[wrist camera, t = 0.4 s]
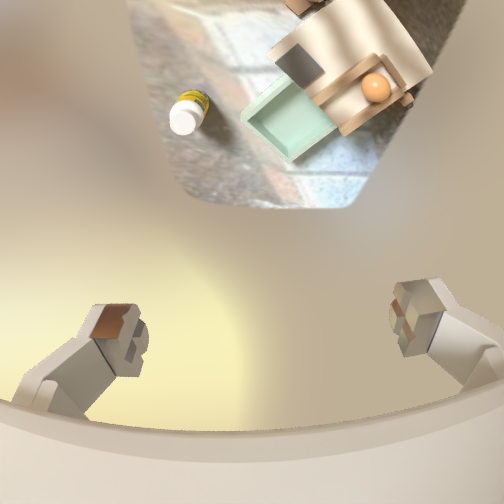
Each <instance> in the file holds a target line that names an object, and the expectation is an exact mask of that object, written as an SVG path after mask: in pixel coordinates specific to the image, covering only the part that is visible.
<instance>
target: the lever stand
mask: <svg viewBox="0 0 504 504" xmlns="http://www.w3.org/2000/svg"><path fill="white" fill-rule="evenodd" d="M322 1H323V0H287V1H285V2H284V3H285V4H286V5H287V6H288V7H289V8H290V9H291V10H292V11H293V12H294V13H295V14H296V15H298V16H299V15H300V14H301V13H303V12H304V11H305V10H306V9H308V8H309V7H310V6H312V5H313V4H314V3H316V2H319V3H320V2H322ZM404 93H405V95H404V96H402V97H401V98H399V99H398V101H399V102H400V103H401V104H402V105H403V106H404V107H405V106H406V107H407V108H408V109H409V108H411V107H413V103H412V101H414V99H413V97H412V95H411V94H410V93H409V92H408V91H405V92H404Z"/></svg>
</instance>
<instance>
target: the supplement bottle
mask: <svg viewBox="0 0 504 504" xmlns="http://www.w3.org/2000/svg"><path fill="white" fill-rule="evenodd" d="M208 108H209V98H208V96H207V95H206V94H205V93H204V92H203V91H201V90H199V89H189V90H187V91H185V92H184V93H183V94H182V95H181V96H180V97H179V99H178V100H177V101H176V103H175V104H174V106H173V107H172V109H171V112H170V127H171V129H172V130H173V131H174V132H175V133H177V134H179V135H188V134H190V133H192V132H193V131H194V130H196V129H197V128H198V127H199V126H200V125H201V124H202V122H203V120H204V117H205V115H206V113H207V110H208Z"/></svg>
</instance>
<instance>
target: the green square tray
mask: <svg viewBox="0 0 504 504" xmlns="http://www.w3.org/2000/svg"><path fill="white" fill-rule="evenodd" d="M240 122H242V123H243V124H244V125H245V126H246V127H247V128H249V129H250V130H251V131H252V132H253V133H254V134H255V135H257V136H258V137H259V138H260V139H261V140H262V141H263V142H265V143H266V144H267V145H268V146H269V147H270V148H271V149H272V150H273V151H275V152H276V153H277V154H278V155H279V156H280V157H281V158H282V159H283V160H284V161H286V162H287V163H288V164H289V163H291V162H292V161H293V160H295V159H296V158H297V157H298V156H300V155H301V154H302V153H304V152H305V151H306V150H308V149H309V148H310V147H312V146H313V145H314V144H316V143H317V142H318V141H320V140H321V139H322V138H324V137H325V136H326V135H328V134H329V133H330V132H332V131H333V130H334V129H336V128H337V126H336V125H335V124H334V123H333V121H332V120H331V119H330V118H329V117H328V116H327V115H326V114H325V113H324V112H323V110H322V109H321V108H320V107H319V106H318V107H317V106H316V105H315V104H314V103H313V102H312V99H311V98H310V97H309V96H308V95H307V94H306V92H305V91H304V90H303V89H301V88H300V87H299V86H298V85H297V84H296V83H295V82H294V81H293V80H292V79H291V78H290V77H289V76H288V75H287V74H286V73H285V74H283V75H282V76H281V77H280V78H279V79H277V80H276V81H275V82H274V83H273V84H272V85H270V86H269V87H268V88H267V89H266V90H265V91H263V92H262V93H261V94H260V95H259V96H258V97H257V98H256V99H254V100H253V101H252V102H251V103H250V104H249V105H248V106H247V107H245V108H244V109H243V110H242V111H241V117H240Z"/></svg>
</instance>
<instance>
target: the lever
mask: <svg viewBox="0 0 504 504" xmlns="http://www.w3.org/2000/svg"><path fill="white" fill-rule="evenodd" d="M328 1H329V2H330V3H329V4H327V5H326V6H325V7H323V8H322V9H320V10H319V11H318V12H316V13H315V14H314V15H312V16H311V17H310V18H308V19H307V20H306V21H305V22H303V23H302V24H301V25H299V26H298V27H297V28H296V29H294V30H293V31H292V32H291V33H289V34H288V35H287V36H286V37H284V38H283V39H282V40H281V41H280V42H278V43H277V44H276V45H275V46H274V47H272V48H271V49H270V50H269V51H268V52H267V53H266V55H267V56H269V57H270V58H271V59H272V60H273V61H274V62H275V64H276V65H277V66H279V67H280V68H281V69H282V70H283V71H284V72H285V73H286V74H287V75H288V76H289V77H290V78H291V79H292V80H293V81H294V82H295V83H296V84H297V85H298V86H299V87H300V88H301V89H303V90H304V91H305V92H306V94H307V95H308V96H309V97H310V98H311V99H312V102H313V103H314V104H315V105H316V106H317V107H318V106H319V107H320V108H321V109H322V110H323V112H324V113H325V114H326V115H327V116H328V117H329V118H330V119H331V120H332V121H333V123H334V124H335V125H336V126H337V127H338V129H339V131H340V133H341V134H342V135H343V136H344V137H345V136H347V135H348V134H349V133H351V132H352V131H354V130H355V129H356V128H358V127H359V126H361V125H362V124H363V123H365V122H366V121H368V120H369V119H371V118H372V117H373V116H375V115H376V114H378V113H379V112H380V111H382V110H383V109H385V108H386V107H388V106H389V105H390V104H392V103H393V102H395V101H396V100H398V99H399V98H401V97H402V96H404V95H405V93H404V92H405V91H407V90H408V89H410V88H411V87H412V86H414V85H415V84H417V83H418V82H420V81H421V80H423V79H424V78H426V77H427V76H429V75H430V74H432V73H433V71H432V69H431V68H430V66H429V64H428V63H427V61H426V60H425V58H424V56H423V55H422V53H421V52H420V50H419V49H418V47H417V45H416V44H415V42H414V41H413V39H412V38H411V37H410V35H409V34H408V32H407V31H406V29H405V28H404V27H403V25H402V24H401V22H400V21H399V20H398V18H397V17H396V16H395V14H394V13H393V12H392V10H391V9H390V8H389V7H388V5H387V4H386V3H385V2H384V0H328ZM371 73H378V74H381V75H383V76H384V77H386V78H387V80H388V81H389V83H390V86H391V92H390V95H389V97H388V98H387V99H386V100H384V101H382V102H373V101H370V100H369V99H367V98H366V97H365V96H364V94H363V93H362V90H361V82H362V80H363V78H364V77H365V76H366V75H368V74H371Z"/></svg>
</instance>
